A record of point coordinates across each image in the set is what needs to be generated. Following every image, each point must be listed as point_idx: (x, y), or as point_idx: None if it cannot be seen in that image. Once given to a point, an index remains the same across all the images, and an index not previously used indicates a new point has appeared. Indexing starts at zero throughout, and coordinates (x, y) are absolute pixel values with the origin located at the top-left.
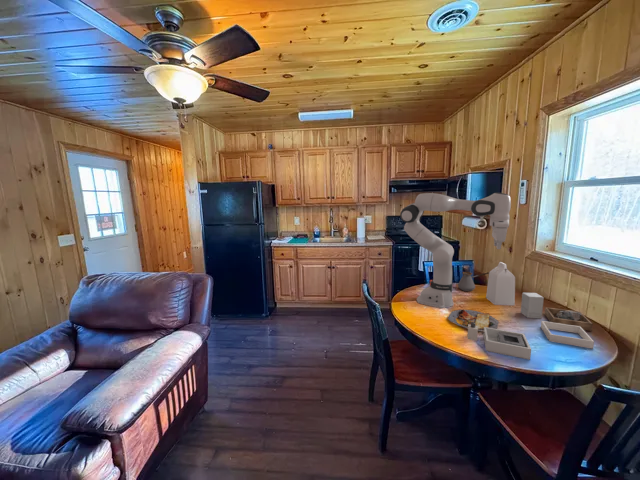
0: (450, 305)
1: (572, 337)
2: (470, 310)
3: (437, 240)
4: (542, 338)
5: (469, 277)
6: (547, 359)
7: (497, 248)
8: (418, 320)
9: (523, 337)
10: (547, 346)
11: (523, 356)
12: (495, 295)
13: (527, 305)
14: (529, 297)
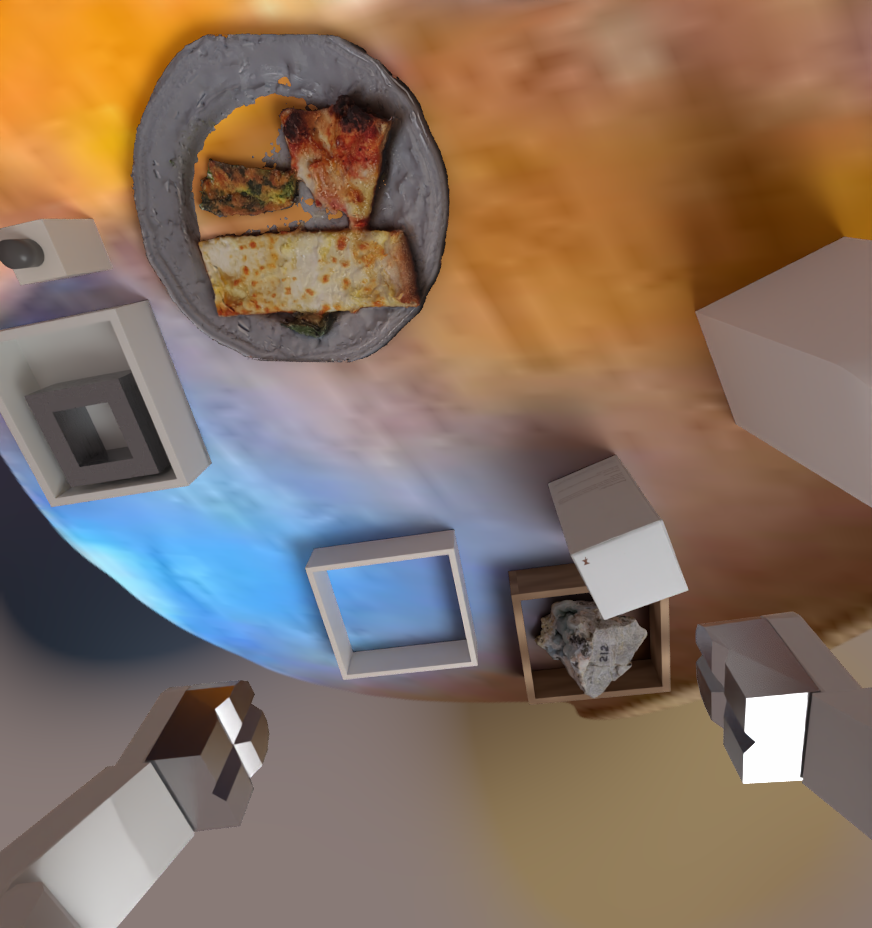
0: None
1: (331, 629)
2: (435, 173)
3: None
4: (324, 528)
5: None
6: (141, 532)
7: (167, 704)
8: None
9: (152, 481)
10: (256, 539)
11: None
12: (732, 324)
13: (570, 514)
14: (570, 553)
